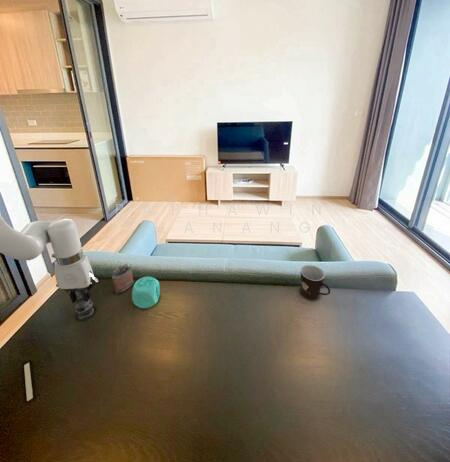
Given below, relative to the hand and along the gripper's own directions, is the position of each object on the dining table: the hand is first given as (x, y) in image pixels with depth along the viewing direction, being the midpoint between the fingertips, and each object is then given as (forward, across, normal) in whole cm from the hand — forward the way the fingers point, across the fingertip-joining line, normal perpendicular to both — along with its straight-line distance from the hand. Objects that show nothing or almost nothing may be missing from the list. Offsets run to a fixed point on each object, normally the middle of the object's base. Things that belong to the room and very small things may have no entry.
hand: (82, 299), depth 86 cm
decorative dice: (+7, +21, +4) cm, 23 cm away
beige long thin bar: (+7, -6, -22) cm, 24 cm away
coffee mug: (+7, +84, 0) cm, 84 cm away
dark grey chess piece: (+7, 0, 0) cm, 7 cm away
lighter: (+7, +10, +12) cm, 17 cm away
